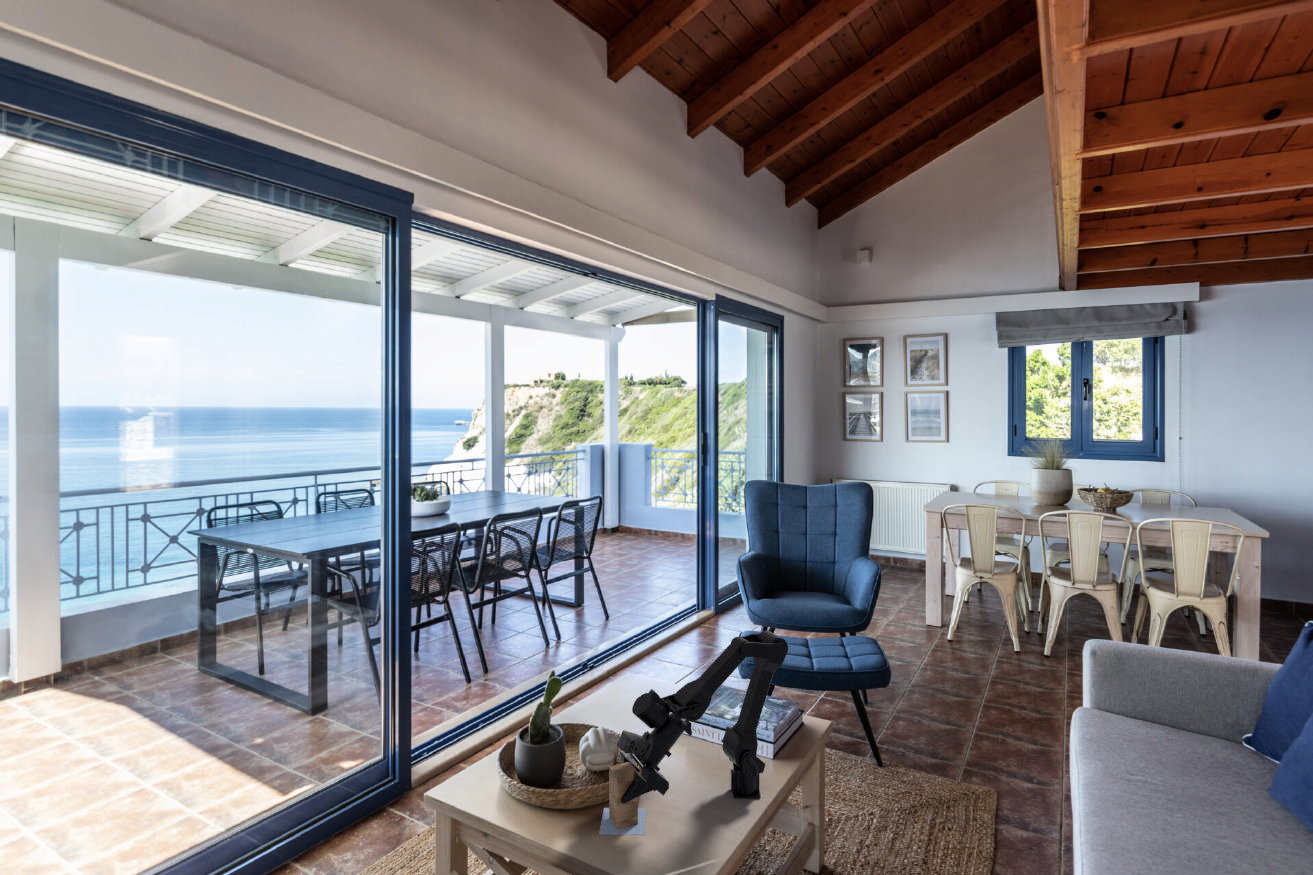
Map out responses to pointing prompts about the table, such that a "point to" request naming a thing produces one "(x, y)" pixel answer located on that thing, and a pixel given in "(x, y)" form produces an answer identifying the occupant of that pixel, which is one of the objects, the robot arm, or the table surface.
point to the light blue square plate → (609, 828)
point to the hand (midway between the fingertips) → (617, 796)
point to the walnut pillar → (618, 785)
